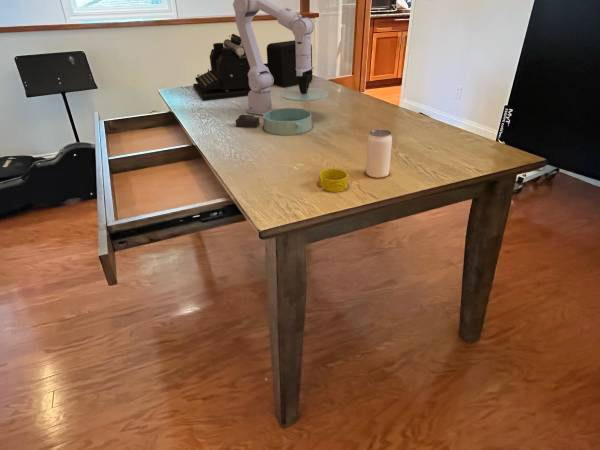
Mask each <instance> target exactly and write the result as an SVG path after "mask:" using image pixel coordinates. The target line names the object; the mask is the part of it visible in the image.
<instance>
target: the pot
mask: <svg viewBox="0 0 600 450" xmlns="http://www.w3.org/2000/svg"><path fill="white" fill-rule="evenodd" d="M262 119H263V130H264V131H265V132H267V133H268V134H272V135H279V136H291V135H292V136H293V135H300V134H305V133H307V132H309V131H310V130H312V126H313V114H312V112H311V111H309V110H307V109H304V108H297V107H295V108H294V107H286V108H285V107H284V108H276V109H275V108H274V110H272V111H268V112H266V113H265V114H264V115H262Z"/></svg>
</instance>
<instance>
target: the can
mask: <svg viewBox="0 0 600 450" xmlns="http://www.w3.org/2000/svg"><path fill="white" fill-rule="evenodd" d="M392 146H393V137H392V132H391V131H390V130H388V129H379V128H378V129H373V130H370V131H369V135H368V138H367V150H366V162H365V163H366V165H365V166H366V168H365V173H366V175H367V176H369V177H370V178H373V179H382V178H386V177H388V176H389V174H390V169H391V157H392Z"/></svg>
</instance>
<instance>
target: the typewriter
mask: <svg viewBox="0 0 600 450" xmlns="http://www.w3.org/2000/svg"><path fill="white" fill-rule="evenodd" d="M228 37H229V38H230V39H229V38H227V39H224V41H223V42H215V43H213V44H212V46H213V48H211V51H210V53H209V62H210V63H209V64H210V69H209V68H207V72H204V73H203V74H202V73H201V74H196V76H195V77H194V79H195V82H196V83H193V85H192V86H193V89H194V90H195V91H196V93H197V95H198V96H199V97H200V99H201V100H202V101H203V102H207V101H216V100H224V99H232V98H242V97H248V93H249V92H250V91H251V88H250V86H249V78H248V72H249V70H250V65H249V62H248V59H247V56H246V53H245V50H244V47H243V44H242V40H241V37H240V35H237V34H235V33H232V34H231V35H228Z"/></svg>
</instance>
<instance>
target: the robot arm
mask: <svg viewBox="0 0 600 450" xmlns="http://www.w3.org/2000/svg"><path fill="white" fill-rule="evenodd" d="M232 7H233V10H234V12H235V13H234V15H235V17H234V18H235V19H234V20H235V24H236V27H237V31H238V34H239V37H241V40H242V44H243V47H244V50H245V53H246V56H247V59H248V62H249V65H250V70H249V72H248V78H249V86H250V88H251V91H250V92H249V93H248V96H247V103H248V110H247V113H248V114H253V115H260V116H263V115H264V114H265V113H266V112H268V111H272V110H274V109H275V108H274V109H273V108H272V91H271V90H272V87H273V86H274V84H273V83H274V79H273V76H272V75H271V73H270V72H269V69H268V66H267V65H265V63H264V62H263V59H262V55H261V52H260V49H259V45H258V43H257V40H256V36H255V33H254V29H253V26H252V21H253V19H254V17H256V15H257V14H258V12H259V11H261V12H263V13H265V14H267V15H269V16H271V17H273V18H275V19H276V20H277V22H278V24H279V25H280V26H283V27H284V28H286V29H287V30H290V31H291V33H292V35H293V36H294V40H295V45H296V74H295V78H296V79H297V82H298V85H297V86H298V88H299V89H300V93H306V91H308V88H310V83H311V82H310V78H311V75H312V76H313V73H314V71H313V70H315V66H312V67H311V45H312V33H313V32H314V29H315V26H314V25H315V24H314V22H313V20H312V19H311V18H310V17H308V16H307V17H303V15H302V14H301V13H300V14H299V13H296V12H294V11H292V8H291V7H283V8H280V7H278V6H277V5H275V4H274V3H272V2H271V1H270V0H233V3H232ZM308 70H312V71H308Z"/></svg>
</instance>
